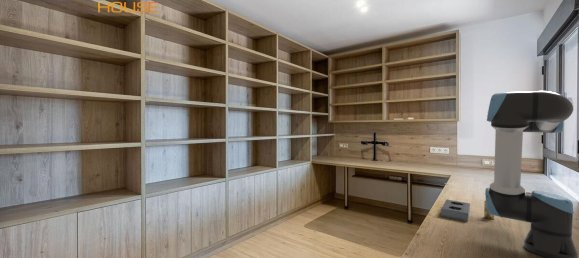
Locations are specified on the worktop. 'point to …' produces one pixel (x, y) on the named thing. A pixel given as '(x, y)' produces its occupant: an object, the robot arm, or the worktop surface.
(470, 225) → the worktop surface
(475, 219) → the worktop surface
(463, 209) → the block
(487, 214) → the brass sleeve
